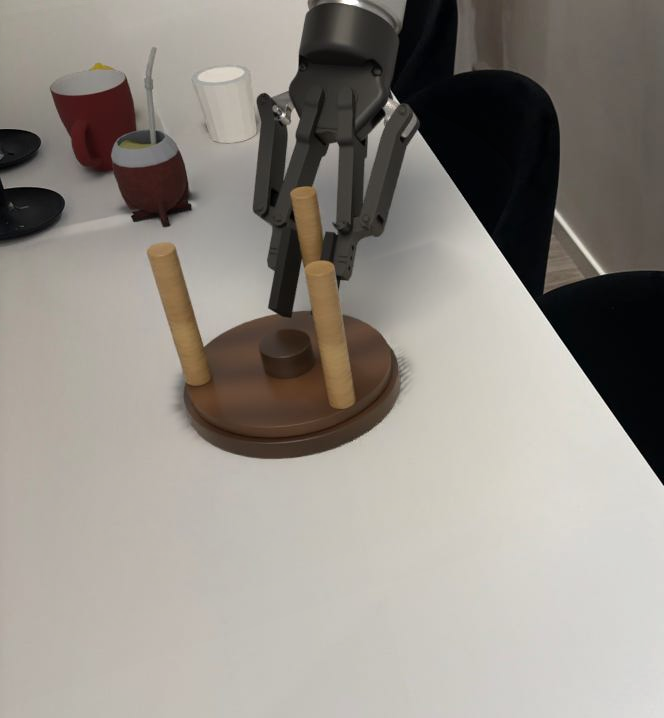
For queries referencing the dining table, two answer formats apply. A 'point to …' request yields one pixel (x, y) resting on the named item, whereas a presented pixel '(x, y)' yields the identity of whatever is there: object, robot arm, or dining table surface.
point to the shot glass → (226, 102)
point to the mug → (95, 113)
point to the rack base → (305, 442)
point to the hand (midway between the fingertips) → (300, 315)
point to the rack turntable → (278, 349)
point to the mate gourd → (150, 168)
